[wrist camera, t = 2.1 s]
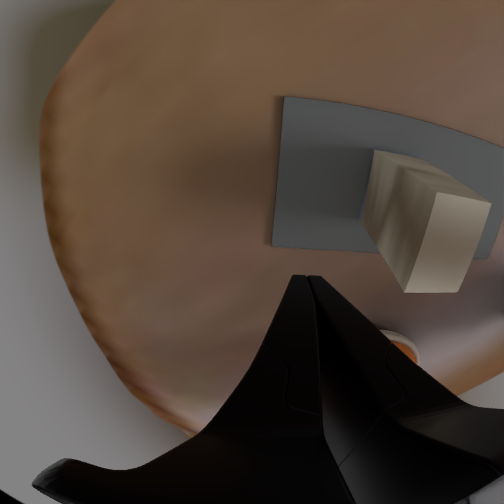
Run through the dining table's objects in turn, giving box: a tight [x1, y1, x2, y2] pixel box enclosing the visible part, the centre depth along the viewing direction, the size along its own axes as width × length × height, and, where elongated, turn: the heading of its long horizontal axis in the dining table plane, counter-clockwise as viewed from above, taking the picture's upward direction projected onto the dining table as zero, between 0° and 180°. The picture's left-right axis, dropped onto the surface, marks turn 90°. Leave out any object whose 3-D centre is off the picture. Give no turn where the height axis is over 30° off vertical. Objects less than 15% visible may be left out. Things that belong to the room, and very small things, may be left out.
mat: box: [271, 96, 504, 260], centre depth 19 cm, size 10×20×1 cm, turn 87°
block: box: [359, 148, 492, 293], centre depth 15 cm, size 5×4×8 cm
